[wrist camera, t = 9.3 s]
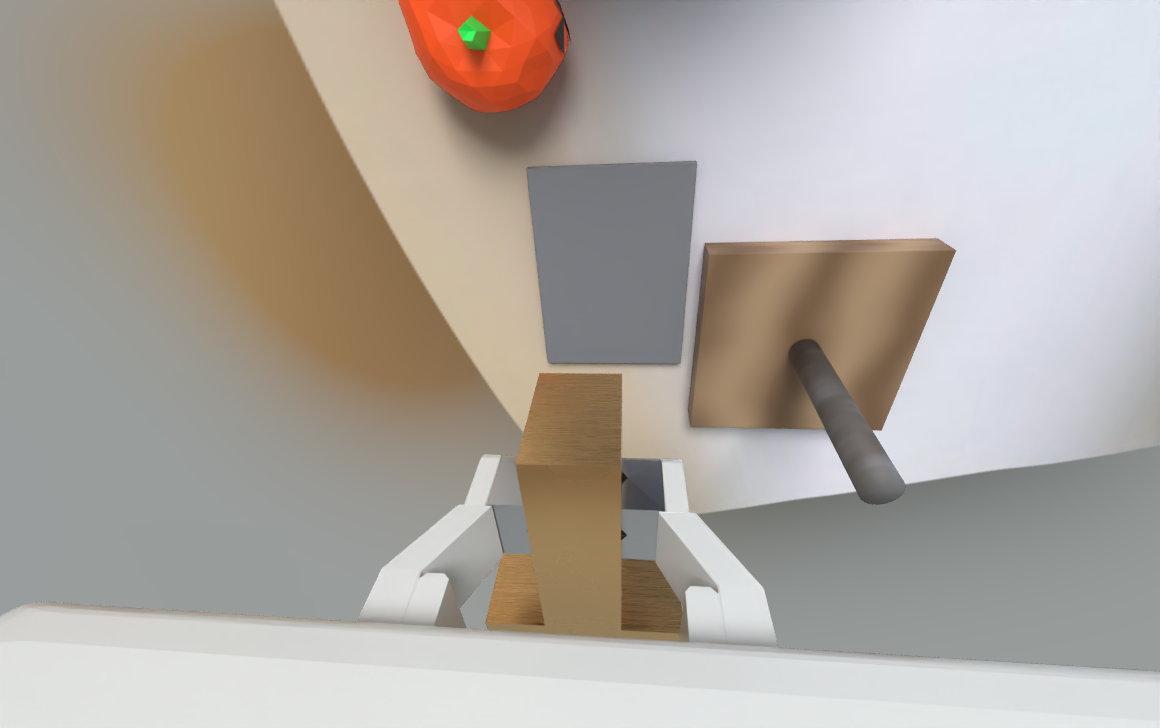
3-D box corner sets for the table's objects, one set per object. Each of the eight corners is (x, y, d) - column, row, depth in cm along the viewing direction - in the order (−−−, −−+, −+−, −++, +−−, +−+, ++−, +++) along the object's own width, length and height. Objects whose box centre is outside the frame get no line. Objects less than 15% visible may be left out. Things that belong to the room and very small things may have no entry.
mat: (695, 160, 28) (696, 163, 27) (679, 358, 35) (680, 363, 35) (528, 167, 29) (526, 169, 28) (548, 358, 36) (547, 362, 36)
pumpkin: (458, -111, 22) (404, -159, 17) (595, 12, 24) (586, 5, 19) (399, 40, 26) (339, 40, 20) (523, 136, 28) (498, 159, 22)
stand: (937, 238, 29) (1141, 369, 17) (870, 413, 37) (979, 582, 25) (704, 243, 30) (750, 366, 19) (688, 410, 38) (713, 569, 27)
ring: (690, 374, 11) (708, 469, 9) (665, 620, 17) (672, 716, 15) (475, 372, 12) (434, 462, 9) (527, 613, 18) (511, 704, 15)
